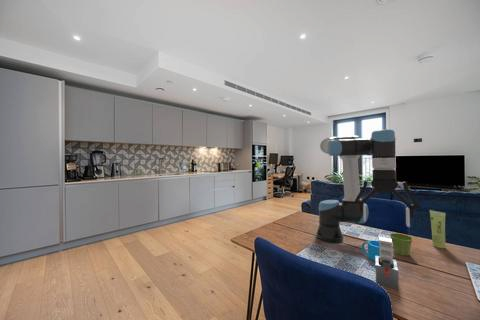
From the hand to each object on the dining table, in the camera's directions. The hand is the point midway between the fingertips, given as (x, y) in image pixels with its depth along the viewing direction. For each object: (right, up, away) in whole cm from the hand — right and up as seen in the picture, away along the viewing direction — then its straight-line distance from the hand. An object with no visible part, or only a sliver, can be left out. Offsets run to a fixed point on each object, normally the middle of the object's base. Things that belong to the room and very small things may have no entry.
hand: (385, 222), depth 76 cm
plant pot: (+27, -24, +24) cm, 43 cm away
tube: (+53, -23, +31) cm, 65 cm away
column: (+1, -23, 0) cm, 23 cm away
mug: (+9, -24, +19) cm, 32 cm away
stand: (+1, -24, 0) cm, 24 cm away
